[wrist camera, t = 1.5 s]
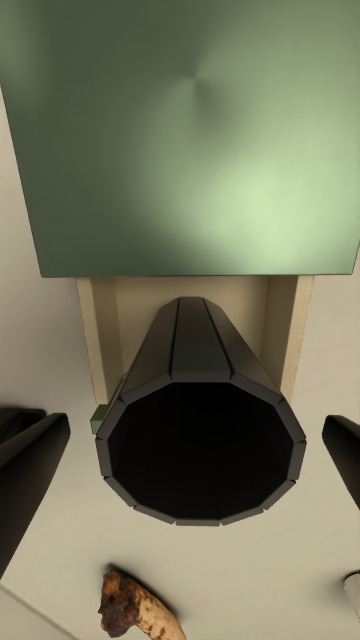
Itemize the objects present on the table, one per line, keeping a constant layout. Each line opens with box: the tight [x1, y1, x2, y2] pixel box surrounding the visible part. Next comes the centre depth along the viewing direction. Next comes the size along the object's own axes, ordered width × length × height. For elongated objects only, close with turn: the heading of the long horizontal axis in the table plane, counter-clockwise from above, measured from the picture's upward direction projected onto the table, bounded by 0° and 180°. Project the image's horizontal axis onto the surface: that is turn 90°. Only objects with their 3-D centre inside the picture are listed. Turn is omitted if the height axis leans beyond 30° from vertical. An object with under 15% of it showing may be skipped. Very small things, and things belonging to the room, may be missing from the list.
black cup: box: [95, 296, 307, 526], centre depth 10 cm, size 6×6×10 cm
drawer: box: [75, 275, 314, 435], centre depth 14 cm, size 17×13×5 cm
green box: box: [0, 0, 360, 278], centre depth 10 cm, size 14×14×6 cm
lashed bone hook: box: [98, 571, 186, 640], centre depth 27 cm, size 9×5×18 cm
